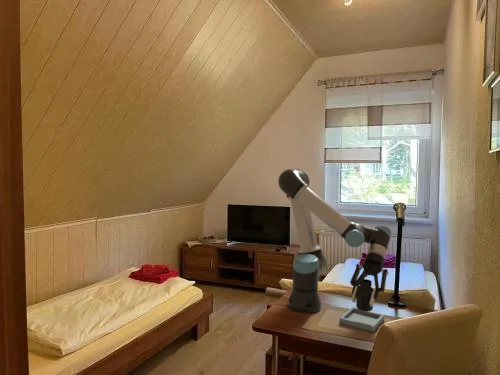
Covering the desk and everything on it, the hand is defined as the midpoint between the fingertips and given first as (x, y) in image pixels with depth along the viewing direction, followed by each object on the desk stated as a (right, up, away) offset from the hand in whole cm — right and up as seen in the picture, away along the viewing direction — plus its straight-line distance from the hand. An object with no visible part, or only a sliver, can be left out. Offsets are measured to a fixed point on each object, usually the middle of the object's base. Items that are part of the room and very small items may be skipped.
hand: (361, 302), depth 152 cm
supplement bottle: (+2, -4, +3) cm, 5 cm away
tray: (+1, -9, +4) cm, 10 cm away
